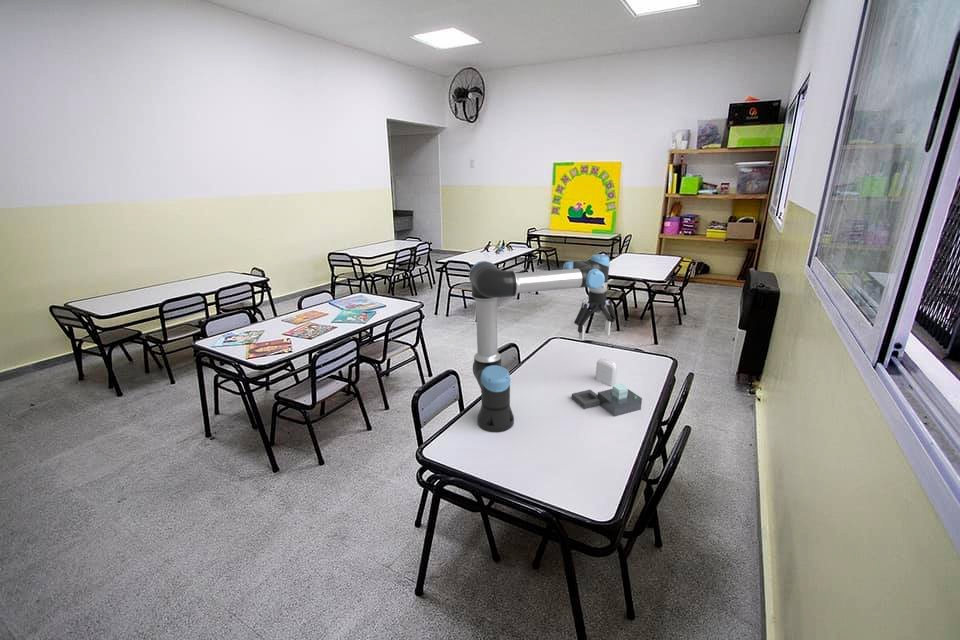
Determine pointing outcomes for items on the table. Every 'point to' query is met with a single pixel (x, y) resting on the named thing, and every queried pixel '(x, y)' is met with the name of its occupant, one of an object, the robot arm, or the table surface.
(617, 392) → the plug
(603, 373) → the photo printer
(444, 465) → the table surface
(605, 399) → the port block
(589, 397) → the dark grey square tray
